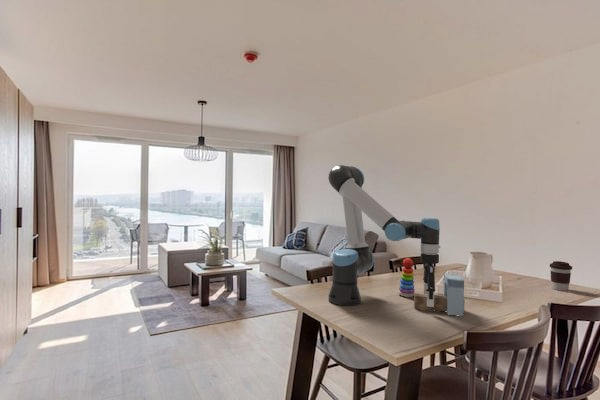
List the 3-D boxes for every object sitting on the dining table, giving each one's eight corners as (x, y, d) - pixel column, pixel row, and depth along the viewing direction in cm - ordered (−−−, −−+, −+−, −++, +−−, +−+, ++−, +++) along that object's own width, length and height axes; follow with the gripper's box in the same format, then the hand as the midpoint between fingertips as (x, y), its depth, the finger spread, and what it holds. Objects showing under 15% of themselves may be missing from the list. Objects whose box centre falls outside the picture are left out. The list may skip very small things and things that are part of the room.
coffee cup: (576, 292, 183) (577, 264, 183) (557, 291, 183) (558, 263, 183) (562, 287, 193) (563, 260, 193) (544, 286, 193) (545, 260, 193)
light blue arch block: (447, 315, 143) (448, 279, 143) (442, 306, 155) (443, 273, 155) (463, 316, 142) (464, 280, 142) (457, 307, 154) (458, 274, 153)
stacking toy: (396, 296, 170) (397, 258, 169) (400, 292, 177) (401, 256, 176) (413, 298, 166) (414, 260, 166) (416, 294, 173) (417, 257, 173)
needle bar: (414, 309, 150) (415, 295, 150) (414, 306, 154) (414, 293, 154) (464, 314, 146) (464, 300, 146) (462, 311, 149) (462, 297, 149)
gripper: (443, 258, 138) (442, 311, 138) (434, 249, 161) (433, 294, 162) (423, 257, 140) (422, 309, 140) (418, 248, 163) (416, 293, 164)
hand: (428, 301), depth 151 cm, fingers open, 12 cm apart
